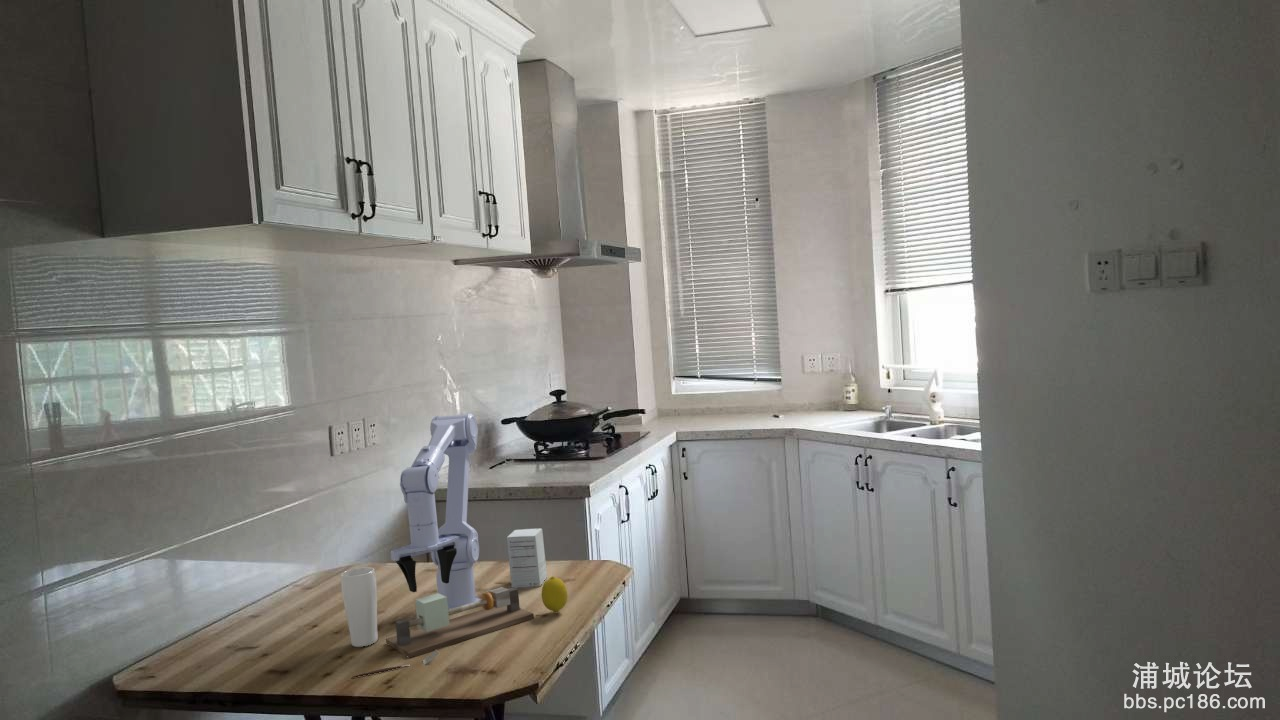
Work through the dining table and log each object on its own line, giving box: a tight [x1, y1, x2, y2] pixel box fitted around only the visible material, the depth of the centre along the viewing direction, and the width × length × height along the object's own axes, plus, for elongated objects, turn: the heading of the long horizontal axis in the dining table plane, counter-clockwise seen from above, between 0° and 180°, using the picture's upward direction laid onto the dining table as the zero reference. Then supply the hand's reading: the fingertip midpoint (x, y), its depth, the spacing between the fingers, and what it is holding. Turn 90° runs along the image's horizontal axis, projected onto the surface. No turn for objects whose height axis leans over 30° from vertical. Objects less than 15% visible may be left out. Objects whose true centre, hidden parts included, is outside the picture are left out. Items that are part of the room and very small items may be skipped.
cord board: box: [385, 586, 535, 659], centre depth 178 cm, size 12×28×6 cm, turn 128°
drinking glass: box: [340, 566, 379, 648], centre depth 176 cm, size 7×7×15 cm
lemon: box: [541, 575, 568, 614], centre depth 184 cm, size 6×6×8 cm
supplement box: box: [506, 528, 548, 589], centre depth 209 cm, size 7×7×13 cm
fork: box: [352, 649, 439, 678], centre depth 160 cm, size 3×16×2 cm, turn 111°
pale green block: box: [414, 592, 450, 632], centre depth 175 cm, size 4×5×6 cm
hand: (429, 586), depth 180 cm, fingers open, 7 cm apart
